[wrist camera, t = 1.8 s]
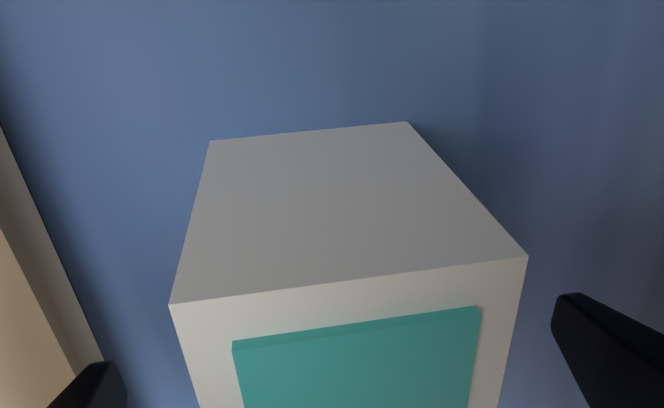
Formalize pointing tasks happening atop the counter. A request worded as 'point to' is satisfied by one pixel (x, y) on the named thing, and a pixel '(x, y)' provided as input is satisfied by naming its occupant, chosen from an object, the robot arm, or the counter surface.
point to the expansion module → (343, 276)
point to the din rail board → (35, 303)
